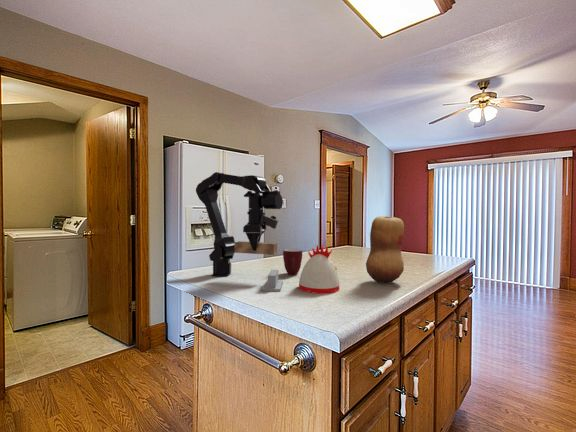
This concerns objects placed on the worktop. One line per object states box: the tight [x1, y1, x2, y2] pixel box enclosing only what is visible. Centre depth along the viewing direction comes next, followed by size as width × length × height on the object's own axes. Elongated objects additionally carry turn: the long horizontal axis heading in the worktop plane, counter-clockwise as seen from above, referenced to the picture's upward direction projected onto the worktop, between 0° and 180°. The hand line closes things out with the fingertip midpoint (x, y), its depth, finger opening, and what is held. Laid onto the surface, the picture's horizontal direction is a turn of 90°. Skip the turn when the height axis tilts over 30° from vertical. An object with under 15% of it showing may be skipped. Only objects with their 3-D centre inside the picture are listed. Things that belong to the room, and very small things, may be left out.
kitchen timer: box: [298, 244, 340, 295], centre depth 107 cm, size 14×14×15 cm
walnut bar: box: [234, 241, 278, 256], centre depth 118 cm, size 16×4×4 cm, turn 73°
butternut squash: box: [365, 215, 405, 284], centre depth 116 cm, size 14×13×25 cm
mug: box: [282, 248, 303, 276], centre depth 128 cm, size 10×8×10 cm
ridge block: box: [261, 269, 284, 292], centre depth 108 cm, size 6×12×5 cm, turn 177°
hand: (255, 249), depth 118 cm, fingers closed on walnut bar, 4 cm apart
